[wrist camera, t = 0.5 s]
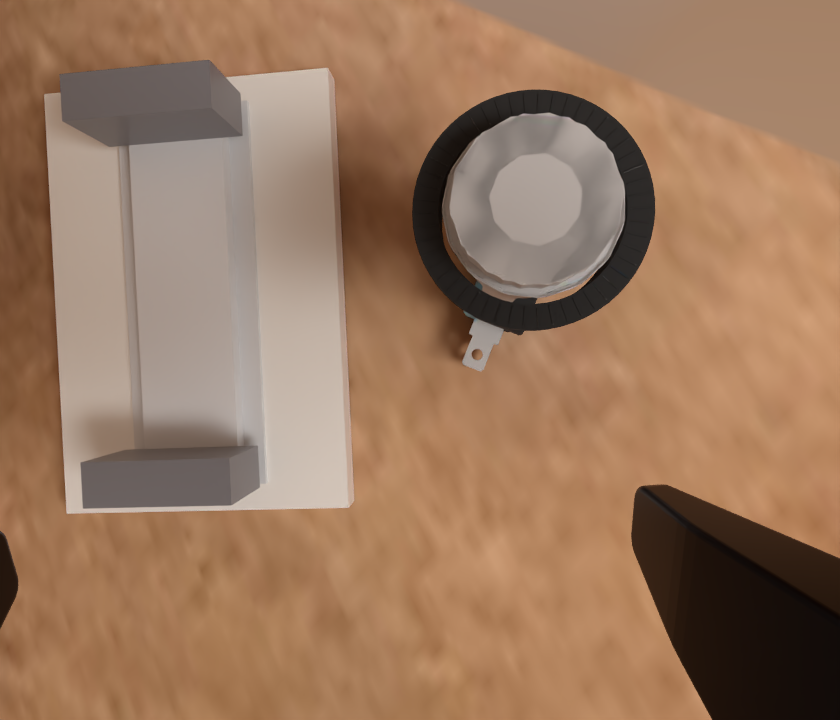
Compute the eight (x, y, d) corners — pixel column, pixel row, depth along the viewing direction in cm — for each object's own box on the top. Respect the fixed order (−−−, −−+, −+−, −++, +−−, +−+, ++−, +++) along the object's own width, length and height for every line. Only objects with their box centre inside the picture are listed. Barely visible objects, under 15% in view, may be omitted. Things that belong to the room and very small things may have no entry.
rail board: (354, 501, 23) (326, 535, 19) (83, 506, 24) (-2, 540, 20) (334, 79, 23) (301, 18, 19) (62, 104, 24) (-29, 51, 20)
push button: (537, 392, 22) (584, 427, 12) (404, 339, 23) (347, 332, 13) (605, 223, 22) (711, 119, 12) (469, 173, 22) (462, 33, 13)
